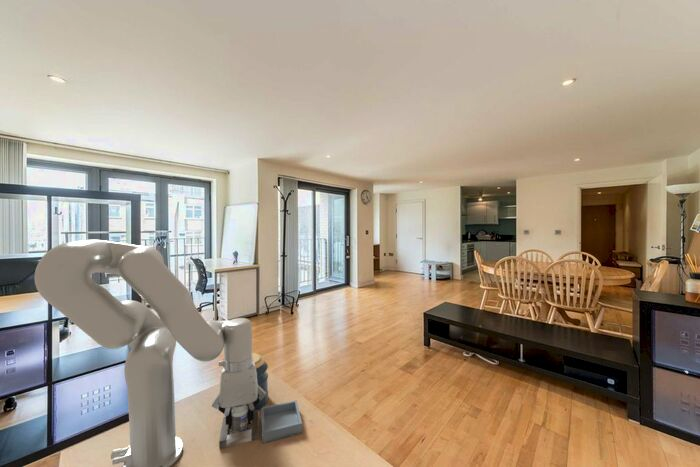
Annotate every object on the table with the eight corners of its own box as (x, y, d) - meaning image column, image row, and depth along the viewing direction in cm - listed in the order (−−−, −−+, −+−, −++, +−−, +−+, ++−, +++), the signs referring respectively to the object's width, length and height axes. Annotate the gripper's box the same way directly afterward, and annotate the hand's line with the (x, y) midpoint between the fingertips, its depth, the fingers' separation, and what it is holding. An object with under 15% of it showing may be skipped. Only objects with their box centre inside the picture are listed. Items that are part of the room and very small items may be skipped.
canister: (218, 408, 90) (217, 355, 90) (250, 387, 102) (249, 340, 101) (245, 422, 84) (244, 365, 83) (276, 398, 95) (275, 348, 95)
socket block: (219, 448, 74) (219, 441, 74) (223, 423, 83) (223, 416, 83) (258, 439, 77) (258, 432, 77) (258, 415, 87) (258, 409, 87)
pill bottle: (242, 438, 77) (242, 409, 77) (228, 435, 78) (227, 407, 78) (252, 426, 82) (251, 398, 82) (238, 424, 83) (237, 397, 83)
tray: (262, 443, 76) (262, 432, 75) (261, 417, 86) (261, 407, 86) (302, 433, 79) (302, 423, 79) (296, 409, 90) (296, 400, 89)
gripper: (203, 374, 73) (205, 440, 74) (269, 363, 79) (270, 425, 79) (208, 361, 80) (210, 421, 81) (268, 352, 86) (269, 408, 86)
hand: (240, 422), depth 80 cm, fingers closed on pill bottle, 4 cm apart
